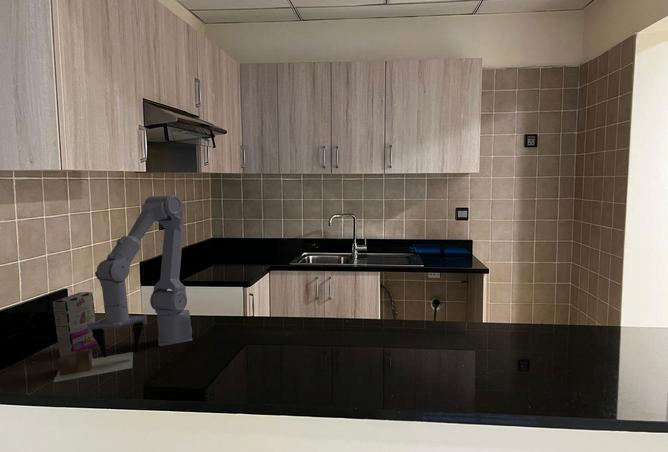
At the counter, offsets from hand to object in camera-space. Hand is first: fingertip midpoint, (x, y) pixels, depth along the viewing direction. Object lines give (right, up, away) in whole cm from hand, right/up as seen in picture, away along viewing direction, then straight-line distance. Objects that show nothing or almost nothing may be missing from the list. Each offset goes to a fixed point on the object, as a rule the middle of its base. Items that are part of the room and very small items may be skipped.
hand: (121, 353), depth 130 cm
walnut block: (-7, -1, -3) cm, 7 cm away
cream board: (-6, -3, -2) cm, 7 cm away
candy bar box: (-18, -3, +13) cm, 23 cm away
